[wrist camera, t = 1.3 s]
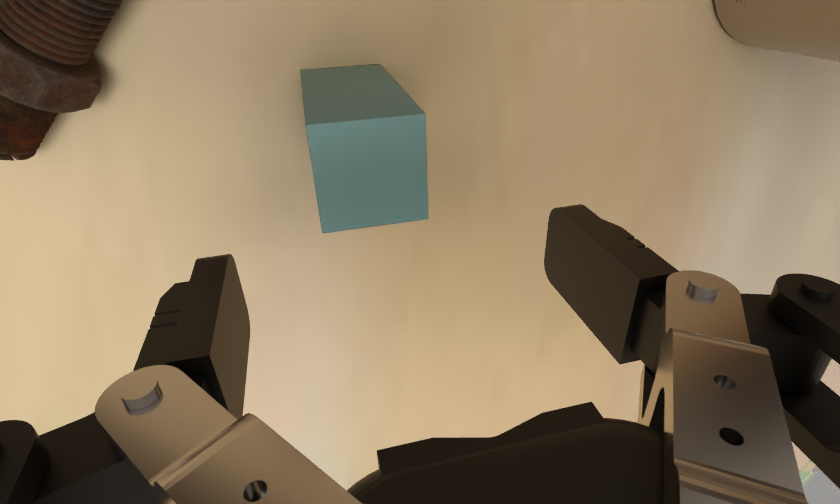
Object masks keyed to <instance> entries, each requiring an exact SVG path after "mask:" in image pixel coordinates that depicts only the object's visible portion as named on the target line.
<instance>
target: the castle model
mask: <svg viewBox="0 0 840 504" xmlns="http://www.w3.org/2000/svg"><path fill="white" fill-rule="evenodd" d="M811 471H812V472H813V471H815V472H814V473H813V474H812V475H811V476H810V477H809V478H808V479H807V480H806V481H805V482H804V483H803V484H802V487H803V491H804V494H805V498H806V500H807V502H808V504H840V489H839V488H838V487H837V486H836V485H835V484H834V483H833V482H832V481H831V480H830V479H829V478H828V477H827V476H826V475H825V474H824V473H823V472H822V471H821V470H820V469H819V468H818V467H817V466H816V465H815V464H814V463H813V462H812V461H811V460H809V461H808V462H807V463H806V464H805V465H804V466H803V468H802V469H801V470H800V471H799V475H800V479H801V482H802V481H803V480H804V479H805V478H806V477H807V476H808V475H809V474H810V472H811Z"/></svg>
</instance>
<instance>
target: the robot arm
mask: <svg viewBox="0 0 840 504" xmlns="http://www.w3.org/2000/svg"><path fill="white" fill-rule="evenodd" d="M714 2H715V7H716V11H717V15H718V18H719V20H720V22H721V24H722V26H723V28H724V29H725V30H726V31H727V32H728V33H729V34H730V36H731V37H732V38H734V39H736V40H737V41H739V42H741V43H743V44H747V45H752V46H757V47H763V48H769V49H774V50H780V51H785V52H791V53H796V54H802V55H806V56H811V57H817V58H822V59H828V60H834V61H840V0H714ZM544 266H545V271H546V275H547V277H548V280H549V281H550V283H551V284H552V285H553V286H554V288H555V289H556V290H557V291H558V292H559V293H560V295H561V296H562V297H563V298H564V299H565V301H566V302H567V303H568V304H569V305H570V306H571V308H572V309H573V310H574V311H575V312H576V313H577V315H578V316H579V317H580V318H581V319H582V321H583V322H584V323H585V324H586V325H587V326H588V328H589V329H590V330H591V331H592V332H593V334H594V335H595V336H596V337H597V338H598V339H599V341H600V342H601V343H602V344H603V345H604V346H605V348H606V349H607V350H608V351H609V352H610V354H611V355H612V356H613V357H614V358H615V359H616V361H617V362H618V363H619V364H624V363H628V362H633V361H638V360H641V361H642V362H643V363H644V366H643V369H642V373H641V382H640V396H639V410H638V423H636V422H631V421H626V420H620V419H611V418H603V417H602V416H601V414H600V413H599V411H598V410H597V409H596V407H595V406H594V404H593V403H592V402H588V403H584V404H580V405H575V406H571V407H566V408H562V409H558V410H553V411H549V412H544V413H541V414H539V415H537V416H535V417H533V418H531V419H530V420H528V421H526V422H524V423H522V424H520V425H518V426H516V427H514V428H512V429H510V430H508V431H506V432H504V433H502V434H500V435H498V436H496V437H490V438H430V439H425V440H421V441H417V442H412V443H408V444H403V445H399V446H395V447H390V448H386V449H381V450H377V457H378V465H379V469H378V470H376V471H375V472H373V473H371V474H369V475H367V476H366V477H364V478H363V479H361V480H360V481H358V482H357V483H355V484H354V485H353V486H352V487H351V488H349V489H348V490H347V491H346V490H345V489H344V488H343V487H341V486H340V485H339V484H338V483H337V482H335V481H334V480H333V479H332V478H331V477H329V476H328V475H327V474H326V473H324V472H323V471H322V470H321V469H320V468H318V467H317V466H316V465H315V464H314V463H312V462H311V461H310V460H309V459H308V458H306V457H305V456H304V455H303V454H302V453H300V452H299V451H298V450H297V449H295V448H294V447H293V446H292V445H291V444H289V443H288V442H287V441H286V440H285V439H283V438H282V437H281V436H280V435H279V434H277V433H276V432H275V431H274V430H273V429H271V428H270V427H269V426H268V425H266V424H265V423H264V422H263V421H262V420H260V419H259V418H258V417H256V416H255V415H253V414H250V413H247V414H245V415H244V416H243V417H242V415H243V405H244V394H245V383H246V372H247V361H248V351H249V340H250V321H249V314H248V309H247V305H246V302H245V298H244V294H243V291H242V287H241V283H240V279H239V276H238V272H237V268H236V265H235V261H234V259H233V256H232V255H231V254H227V255H220V256H213V257H206V258H199V259H197V260H196V262H195V265H194V268H193V272H192V275H191V278H190V281H188V282H182V283H175V284H174V285H173V286H172V287H171V288H170V289H169V290H168V291H167V292H166V293H165V294H164V295H163V296H162V297H161V298H160V301H159V303H158V306H157V309H156V311H155V316H154V317H153V319H152V322H151V325H150V329H149V330H148V333H147V335H146V338H145V341H144V343H143V346H142V349H141V351H140V354H139V357H138V359H137V362H136V365H135V367H134V370H133V372H131V373H129V374H127V375H125V376H123V377H121V378H120V379H118V380H117V381H115V382H114V383H113V384H111V385H110V386H109V387H108V388H107V389H106V390H105V391H104V392H103V393H102V395H101V396H100V398H99V399H98V401H97V403H96V406H95V412H94V413H92V414H90V415H88V416H86V417H84V418H82V419H79V420H77V421H74V422H72V423H69V424H67V425H65V426H62V427H60V428H57V429H55V430H52V431H50V432H47V433H45V434H42V435H40V436H39V435H38V434H37V432H36V431H35V429H34V428H33V427H32V425H30V424H29V423H27V422H24V421H20V420H8V421H2V422H0V504H808V502H807V500H806V498H805V494H804V491H803V487H802V483H801V479H800V475H799V470H798V466H797V462H796V458H795V454H794V450H793V446H792V442H793V443H794V444H795V445H796V446H797V447H798V448H799V449H800V450H801V451H802V452H803V453H804V454H805V455H806V456H807V457H808V458H809V459H810V460H811V461H812V462H813V463H814V464H815V465H816V466H817V467H818V468H819V469H820V470H821V471H822V472H823V473H824V474H825V475H826V476H827V477H828V478H829V479H830V480H831V481H832V482H833V483H834V484H835V485H836V486H837V487H838V488H839V489H840V396H838V395H837V394H836V393H835V392H834V391H832V390H831V389H830V388H829V387H828V386H826V385H825V384H824V383H823V382H822V381H820V379H821V377H822V376H823V374H824V372H825V370H826V368H827V366H828V364H829V362H830V360H831V359H833V360H835V361H836V362H837V363H839V364H840V284H837V283H835V282H833V281H830V280H828V279H824V278H821V277H817V276H813V275H807V274H787V275H783V276H780V277H779V278H778V279H777V281H776V283H775V285H774V288H773V290H772V293H771V295H764V294H740V293H739V291H738V289H737V288H736V287H735V286H734V285H732V284H731V283H730V282H728V281H726V280H725V279H723V278H721V277H718V276H716V275H713V274H709V273H705V272H701V271H690V270H688V271H678V270H677V269H675V268H674V267H673V266H671V265H670V264H669V263H668V262H666V261H665V260H664V259H662V258H661V257H660V256H658V255H657V254H656V253H654V252H653V251H652V250H651V249H649V248H645V245H644V244H643V243H641V242H640V241H639V240H638V239H635V238H634V236H632V235H631V234H630V233H628V232H627V231H626V230H624V229H623V228H622V227H620V226H617V225H615V224H613V223H610V222H608V221H605V220H602V219H601V218H599V217H598V216H597V215H596V214H594V213H593V212H592V211H591V210H589V209H588V208H587V207H586V206H584V205H582V204H581V205H573V206H566V207H559V208H554V209H553V210H552V211H551V213H550V216H549V222H548V231H547V240H546V249H545V258H544ZM791 441H792V442H791Z"/></svg>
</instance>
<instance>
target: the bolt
mask: <svg viewBox="0 0 840 504" xmlns="http://www.w3.org/2000/svg"><path fill="white" fill-rule="evenodd" d="M121 2H122V0H0V160H13V161H14V159H13V157H14V158H15V159H17V160H25V159H29V158H30V157H32V156H34V155H35V153H36V151H37V149H38V148H39V146H40V143H41V142H42V139H44V136H45V134H46V133H47V131H48V130H49V127H50V126H51V125H52V122H54V118H55V116H56V115H57V114H58V113H65V112H75V111H79V110H83V109H87V108H90V107H91V105H92V103H93V102H94V100H95V98H96V97H97V95H98V93H99V91H100V90H101V73H100V68H99V65H98V63H97V61H96V59H95V58H94V57H93V55H92V53H93V50H94V49H95V48H96V44H97V43H98V42H99V41H100V37H101V36H103V32H104V30H106V28H107V24H108V23H109V22H110V21H111V17H112V16H113V15H114V14H115V10H116V9H117V8H119V3H121ZM12 156H13V157H12Z"/></svg>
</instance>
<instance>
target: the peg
mask: <svg viewBox="0 0 840 504" xmlns="http://www.w3.org/2000/svg"><path fill="white" fill-rule="evenodd" d="M300 71H301V82H302V93H303V103H304V114H305V125H306V131H307V138H308V144H309V151H310V157H311V164H312V170H313V176H314V183H315V189H316V196H317V202H318V209H319V215H320V221H321V228H322V233H329V232H336V231H344V230H351V229H358V228H366V227H373V226H381V225H388V224H396V223H403V222H410V221H418V220H425V219H428V190H427V154H426V118H425V113H424V112H423V111H422V109H421V108H420V107H419V106H418V105H417V104H416V103H415V102H414V101H413V100H412V99H411V97H410V96H409V95H408V94H407V93H406V92H405V91H404V90H403V89H402V88H401V86H400V85H399V84H398V83H397V82H396V81H395V80H394V79H393V78H392V77H391V76H390V74H389V73H388V72H387V71H386V70H385V69H384V68H383V67H382V66H381V65H380V64H372V65H359V66H346V67H333V68H320V69H307V70H300Z"/></svg>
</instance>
